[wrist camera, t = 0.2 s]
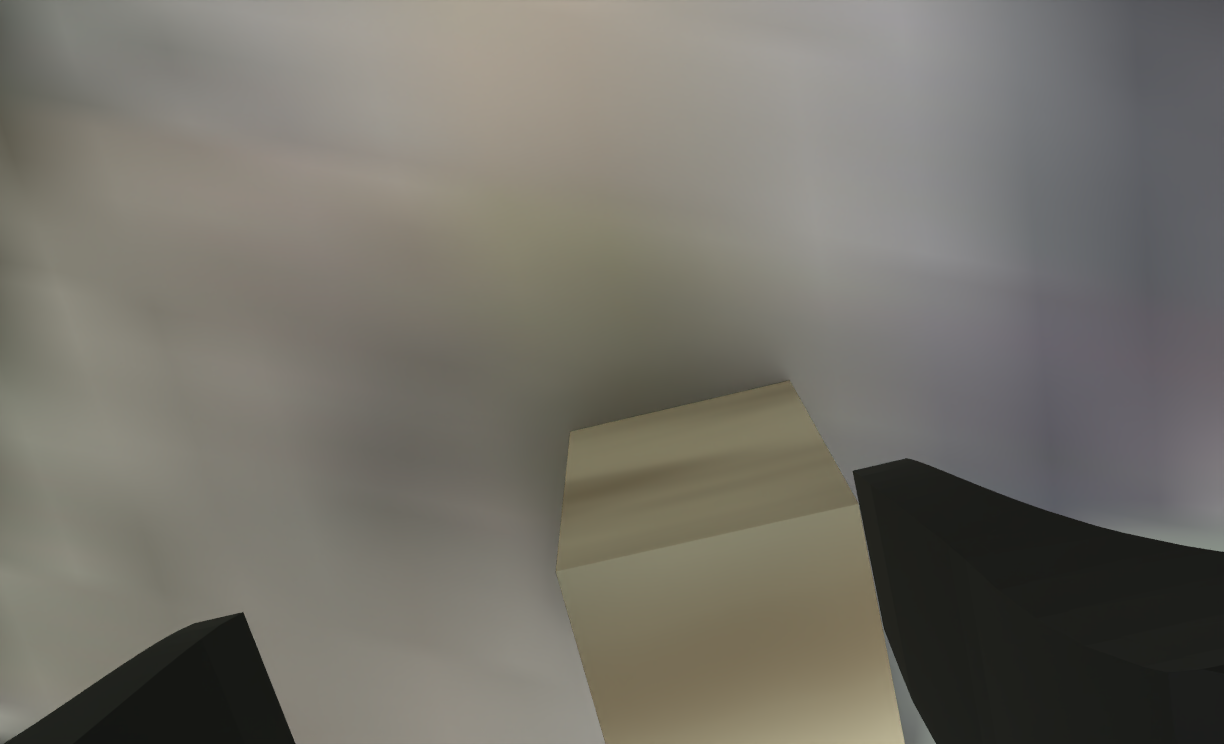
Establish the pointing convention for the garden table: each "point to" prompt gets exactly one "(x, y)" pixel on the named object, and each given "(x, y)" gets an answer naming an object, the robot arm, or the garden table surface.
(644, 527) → the brass block
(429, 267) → the garden table surface
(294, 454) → the garden table surface
